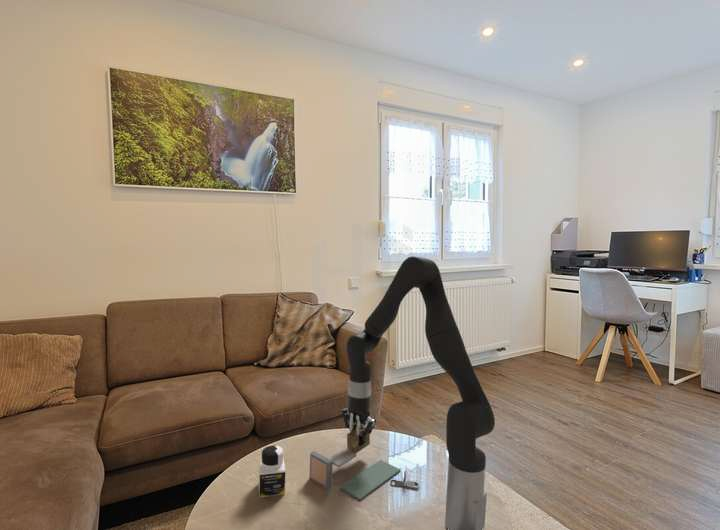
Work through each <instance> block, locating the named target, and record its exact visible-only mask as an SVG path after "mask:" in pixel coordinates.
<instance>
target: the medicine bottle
mask: <svg viewBox="0 0 720 530" xmlns="http://www.w3.org/2000/svg"><path fill="white" fill-rule="evenodd" d="M258 463H259V464H258V466H259V467H258V497H259V498H262V499H263V498H267V497H276V496H277V497H278V496H285V494H286V472H287V471H286V466H285V459H284V449H283V448H282V447H281V446H279V445H269V446H266V447H264V448H263V450H262V451H261V459H260V460H259V462H258Z"/></svg>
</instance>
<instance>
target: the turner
mask: <svg viewBox="0 0 720 530" xmlns="http://www.w3.org/2000/svg"><path fill="white" fill-rule="evenodd" d="M370 436H371V434H369V435H367V436H366V440H365V444H364V445H363V446H361V447H360V446H359V429H358V427H357V428H356V429H355V430H353V431H351V432H350V431H349V432H348V433H346V437H347V438H346V442H347V443H346V447H345V448H343V449H341V450H340V451H338V452H337V453H335V454H334V455H332V456H331V457H329V458H328V459H329V460H331V461H333V466H334V467H337V468H338V469H339V468H341V467H343V466H344V465H346V464H347V463H348V462H350V461H352V460H353V459H354V458H356V457H357V453H359V452H361V451H362V450H363V449H365V448H366V447H368V446H369V445H370V444H371V442H370V441H371V440H370V439H371V438H370Z"/></svg>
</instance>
